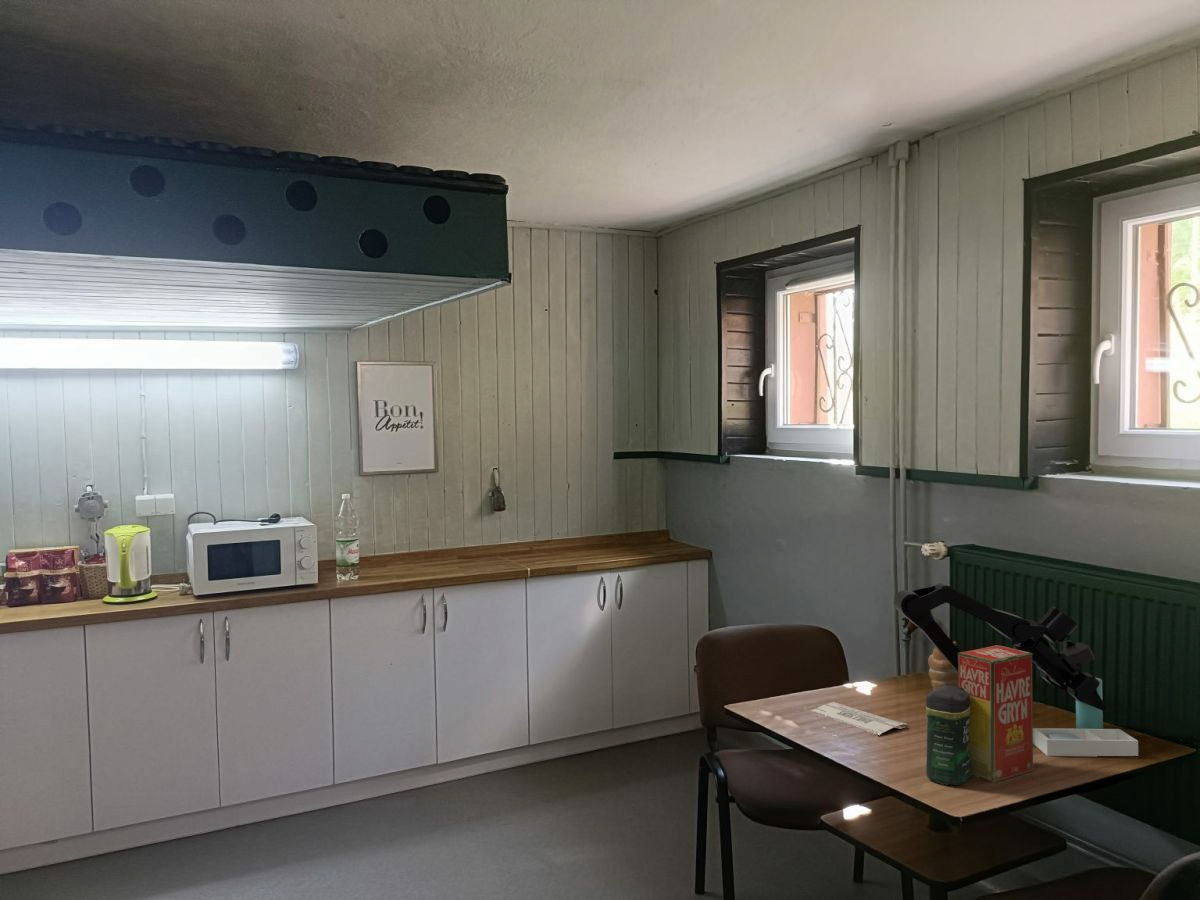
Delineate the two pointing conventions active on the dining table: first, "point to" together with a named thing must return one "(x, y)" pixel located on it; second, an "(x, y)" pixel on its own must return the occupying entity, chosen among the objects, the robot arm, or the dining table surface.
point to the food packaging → (999, 710)
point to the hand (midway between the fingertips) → (1094, 703)
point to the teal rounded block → (1089, 714)
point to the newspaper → (858, 718)
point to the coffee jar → (948, 735)
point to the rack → (1084, 742)
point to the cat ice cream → (941, 671)
